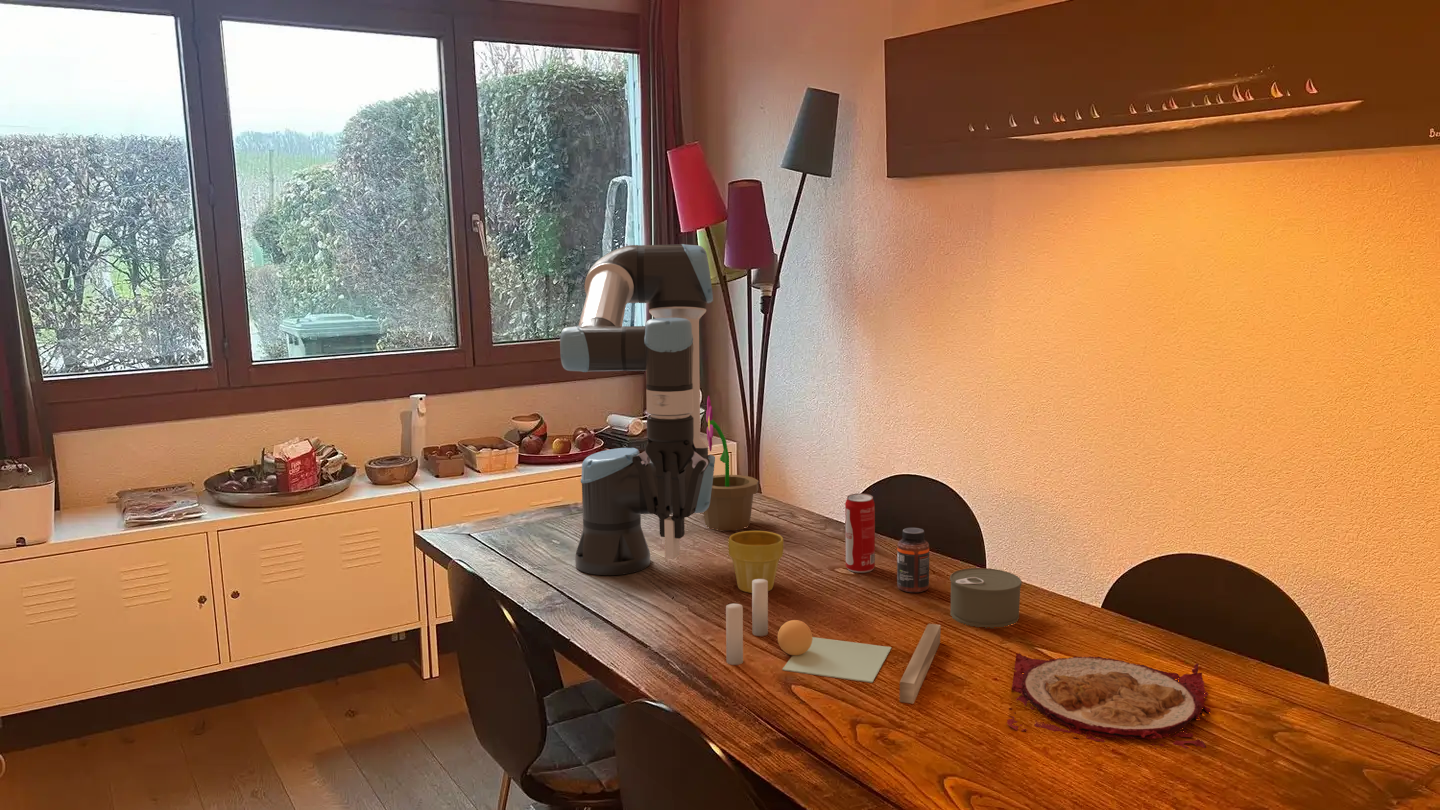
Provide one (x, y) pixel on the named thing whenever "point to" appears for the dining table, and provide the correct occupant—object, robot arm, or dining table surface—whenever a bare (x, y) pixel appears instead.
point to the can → (985, 597)
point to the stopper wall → (919, 664)
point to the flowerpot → (728, 490)
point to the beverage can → (860, 533)
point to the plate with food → (1110, 697)
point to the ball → (795, 637)
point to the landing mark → (840, 660)
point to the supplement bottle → (913, 561)
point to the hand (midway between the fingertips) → (672, 556)
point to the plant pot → (755, 557)
